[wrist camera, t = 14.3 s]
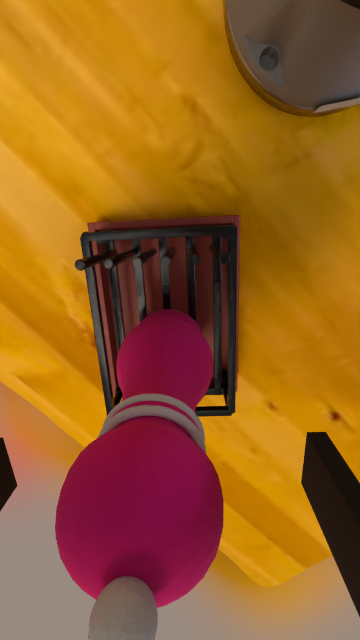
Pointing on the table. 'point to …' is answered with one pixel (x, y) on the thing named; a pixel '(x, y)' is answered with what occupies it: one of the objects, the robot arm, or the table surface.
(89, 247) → the dish rack
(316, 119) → the table surface
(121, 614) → the pepper mill
